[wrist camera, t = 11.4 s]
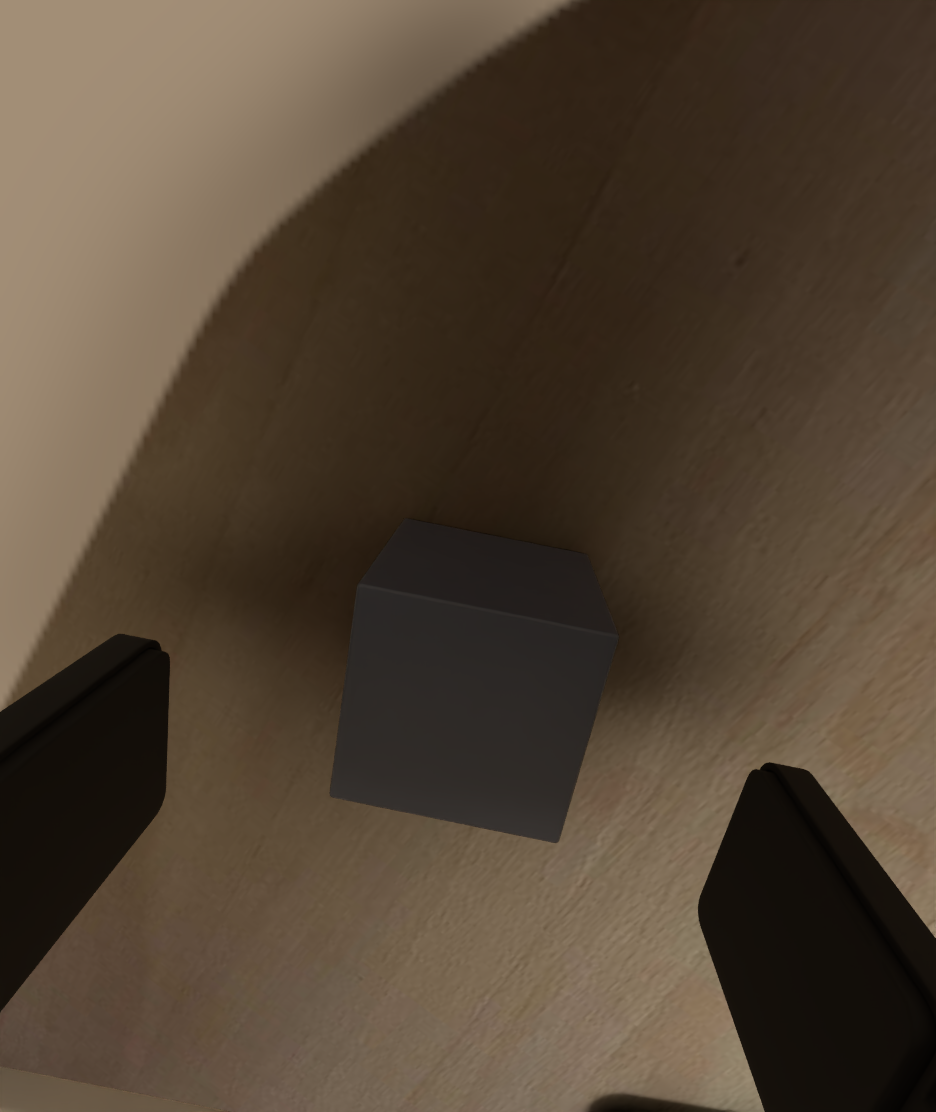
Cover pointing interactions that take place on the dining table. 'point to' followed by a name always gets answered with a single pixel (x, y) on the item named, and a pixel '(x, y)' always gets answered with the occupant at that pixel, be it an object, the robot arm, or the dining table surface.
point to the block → (472, 680)
